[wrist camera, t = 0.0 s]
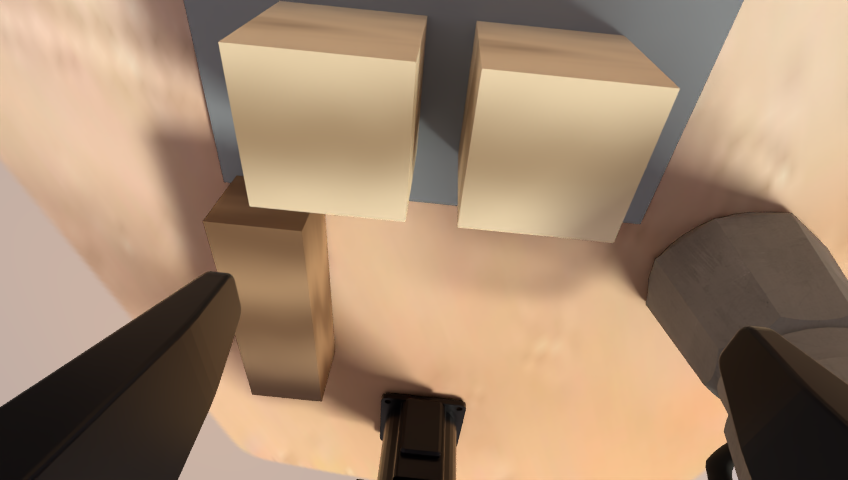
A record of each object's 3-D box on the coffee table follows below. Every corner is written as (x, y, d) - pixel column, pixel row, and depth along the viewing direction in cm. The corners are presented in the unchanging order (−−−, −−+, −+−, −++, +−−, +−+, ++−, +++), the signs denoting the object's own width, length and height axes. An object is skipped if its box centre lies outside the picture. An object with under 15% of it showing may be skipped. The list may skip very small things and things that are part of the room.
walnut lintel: (334, 351, 33) (321, 401, 30) (272, 344, 33) (252, 394, 30) (322, 184, 24) (301, 231, 21) (236, 175, 24) (202, 221, 21)
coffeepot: (729, 152, 22) (1240, 669, 7) (901, 200, 23) (1641, 739, 8) (580, 350, 31) (680, 745, 17) (706, 378, 32) (900, 773, 18)
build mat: (639, 222, 24) (640, 224, 24) (225, 180, 24) (224, 182, 24) (760, -42, 17) (762, -41, 17) (163, -102, 17) (160, -102, 17)
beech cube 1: (581, 166, 22) (613, 243, 18) (458, 153, 22) (457, 227, 18) (624, 35, 19) (680, 88, 14) (476, 20, 19) (482, 68, 14)
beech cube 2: (417, 149, 22) (405, 221, 18) (294, 137, 22) (249, 206, 18) (427, 15, 19) (416, 61, 14) (279, 1, 19) (218, 42, 14)
